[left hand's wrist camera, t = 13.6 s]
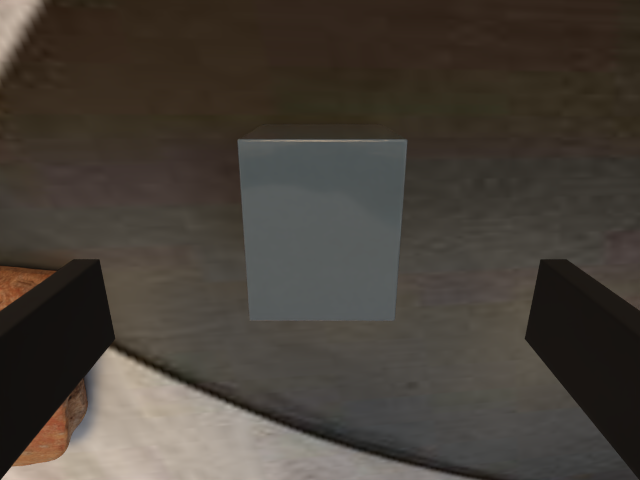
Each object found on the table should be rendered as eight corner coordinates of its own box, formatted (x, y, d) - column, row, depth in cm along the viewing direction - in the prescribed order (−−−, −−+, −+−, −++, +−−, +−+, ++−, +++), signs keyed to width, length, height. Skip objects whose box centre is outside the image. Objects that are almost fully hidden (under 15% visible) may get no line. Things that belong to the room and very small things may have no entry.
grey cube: (382, 124, 24) (408, 139, 17) (375, 259, 27) (395, 321, 19) (262, 123, 24) (236, 139, 17) (268, 259, 27) (249, 321, 20)
